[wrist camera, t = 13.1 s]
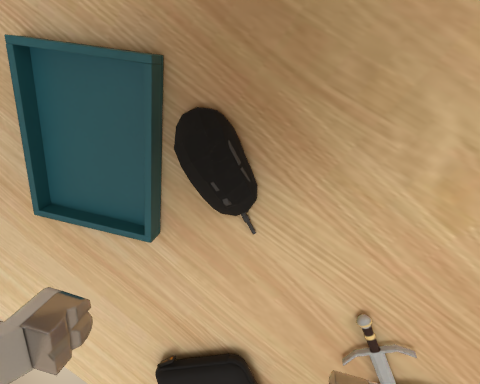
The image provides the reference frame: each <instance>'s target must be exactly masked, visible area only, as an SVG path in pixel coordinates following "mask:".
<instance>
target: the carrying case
mask: <svg viewBox="0 0 480 384" xmlns="http://www.w3.org/2000/svg"><path fill="white" fill-rule="evenodd" d="M175 359H176V356H172V357H170V358H168V359H166V360H163V361H162V362H161V363H160V364H158V367H157V370H156V379H157V382H158V384H257V382H256V381H255V379H254V377H253V375H252V373H251V371H250V369H249V367H248V365H247V363H246V362H245V361H244V360H243V358H242V357H240V356H239V355H235V354H229V353H228V354H223V355H215V356H206V357H198V358H190V359H181V360H175Z"/></svg>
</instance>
